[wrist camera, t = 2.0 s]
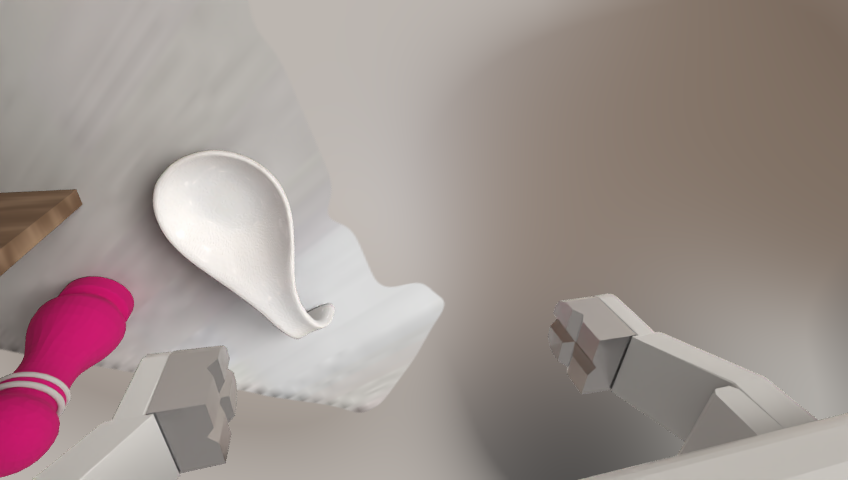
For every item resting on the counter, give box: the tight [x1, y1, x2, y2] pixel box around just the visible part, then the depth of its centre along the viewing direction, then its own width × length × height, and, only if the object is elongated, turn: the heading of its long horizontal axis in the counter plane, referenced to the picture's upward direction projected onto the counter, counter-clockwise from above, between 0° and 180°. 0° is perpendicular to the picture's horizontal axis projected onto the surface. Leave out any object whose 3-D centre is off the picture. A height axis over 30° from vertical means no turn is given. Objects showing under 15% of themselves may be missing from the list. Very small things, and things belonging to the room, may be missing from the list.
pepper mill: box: [0, 277, 134, 477], centre depth 34 cm, size 7×7×20 cm
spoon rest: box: [153, 150, 335, 339], centre depth 41 cm, size 24×12×7 cm, turn 23°
